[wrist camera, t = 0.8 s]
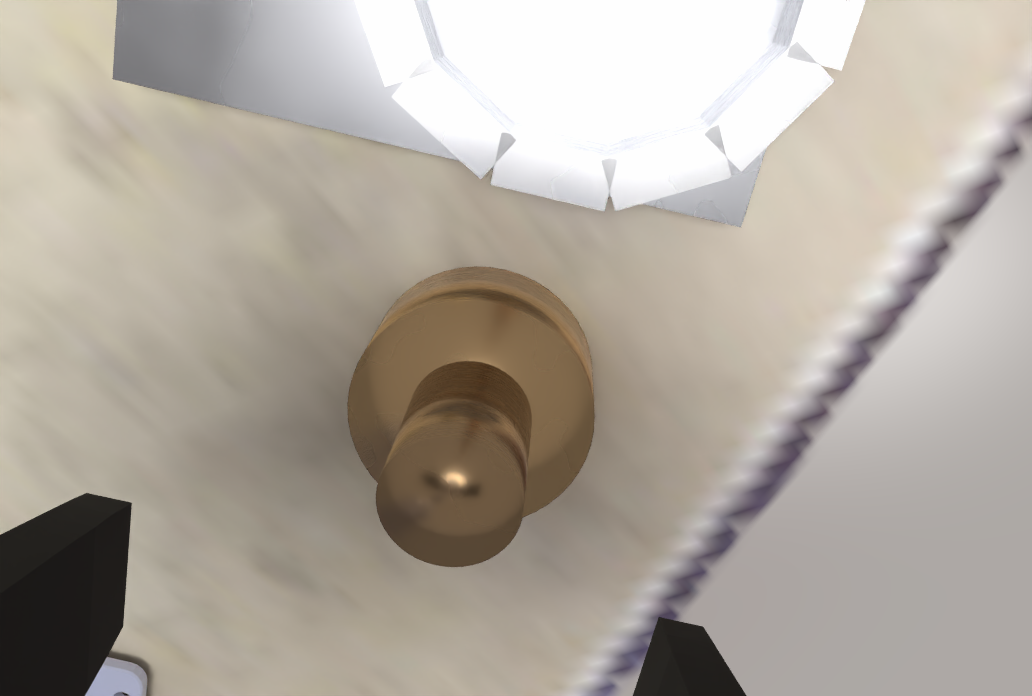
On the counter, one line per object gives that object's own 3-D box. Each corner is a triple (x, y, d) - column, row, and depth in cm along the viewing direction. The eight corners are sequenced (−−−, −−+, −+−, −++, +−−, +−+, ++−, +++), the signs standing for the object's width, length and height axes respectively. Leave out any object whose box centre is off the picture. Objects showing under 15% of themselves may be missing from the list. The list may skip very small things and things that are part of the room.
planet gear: (562, 492, 23) (558, 653, 17) (355, 444, 23) (284, 591, 17) (617, 295, 21) (632, 405, 16) (391, 242, 21) (325, 334, 15)
